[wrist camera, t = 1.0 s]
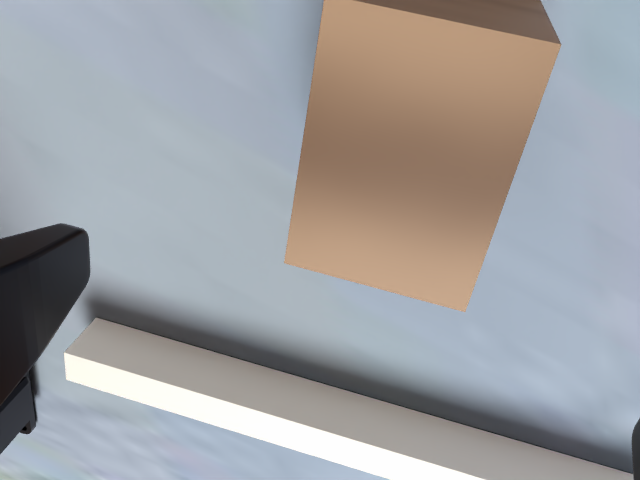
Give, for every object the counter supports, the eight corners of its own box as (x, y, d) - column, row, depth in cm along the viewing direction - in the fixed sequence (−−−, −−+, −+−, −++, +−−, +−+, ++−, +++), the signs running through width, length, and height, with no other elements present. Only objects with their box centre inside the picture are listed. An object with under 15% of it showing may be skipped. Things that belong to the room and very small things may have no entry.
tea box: (470, 211, 21) (465, 312, 16) (327, 175, 22) (279, 261, 17) (539, 0, 17) (561, 44, 12) (365, -36, 18) (318, -8, 13)
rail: (97, 348, 29) (67, 384, 27) (96, 317, 28) (63, 352, 26) (614, 502, 26) (625, 556, 24) (633, 474, 25) (646, 528, 23)
